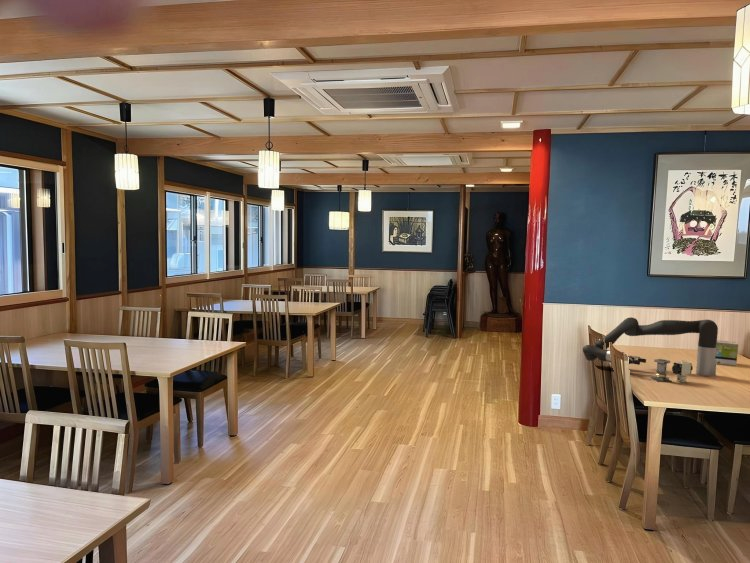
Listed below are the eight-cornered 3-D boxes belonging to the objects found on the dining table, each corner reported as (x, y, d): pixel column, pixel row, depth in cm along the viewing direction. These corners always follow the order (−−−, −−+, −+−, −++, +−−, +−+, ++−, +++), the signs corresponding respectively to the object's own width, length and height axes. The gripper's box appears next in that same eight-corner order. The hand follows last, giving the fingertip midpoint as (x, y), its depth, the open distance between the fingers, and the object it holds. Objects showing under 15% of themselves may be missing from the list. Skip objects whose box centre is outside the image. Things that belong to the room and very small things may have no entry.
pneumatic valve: (692, 381, 308) (693, 361, 307) (678, 383, 303) (679, 362, 302) (683, 379, 313) (684, 359, 312) (669, 381, 308) (670, 360, 307)
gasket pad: (664, 378, 314) (664, 377, 314) (671, 381, 306) (671, 381, 306) (650, 378, 314) (650, 377, 314) (657, 381, 306) (657, 380, 306)
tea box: (710, 363, 359) (711, 341, 357) (707, 360, 368) (708, 339, 367) (736, 366, 353) (738, 343, 352) (733, 363, 362) (734, 341, 361)
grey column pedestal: (658, 377, 314) (660, 358, 314) (669, 379, 309) (670, 360, 308) (652, 378, 311) (654, 359, 310) (662, 380, 306) (664, 361, 305)
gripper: (610, 352, 325) (638, 357, 313) (621, 349, 334) (648, 354, 322) (609, 364, 326) (637, 370, 314) (620, 361, 335) (647, 366, 323)
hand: (642, 362), depth 318 cm, fingers open, 8 cm apart
